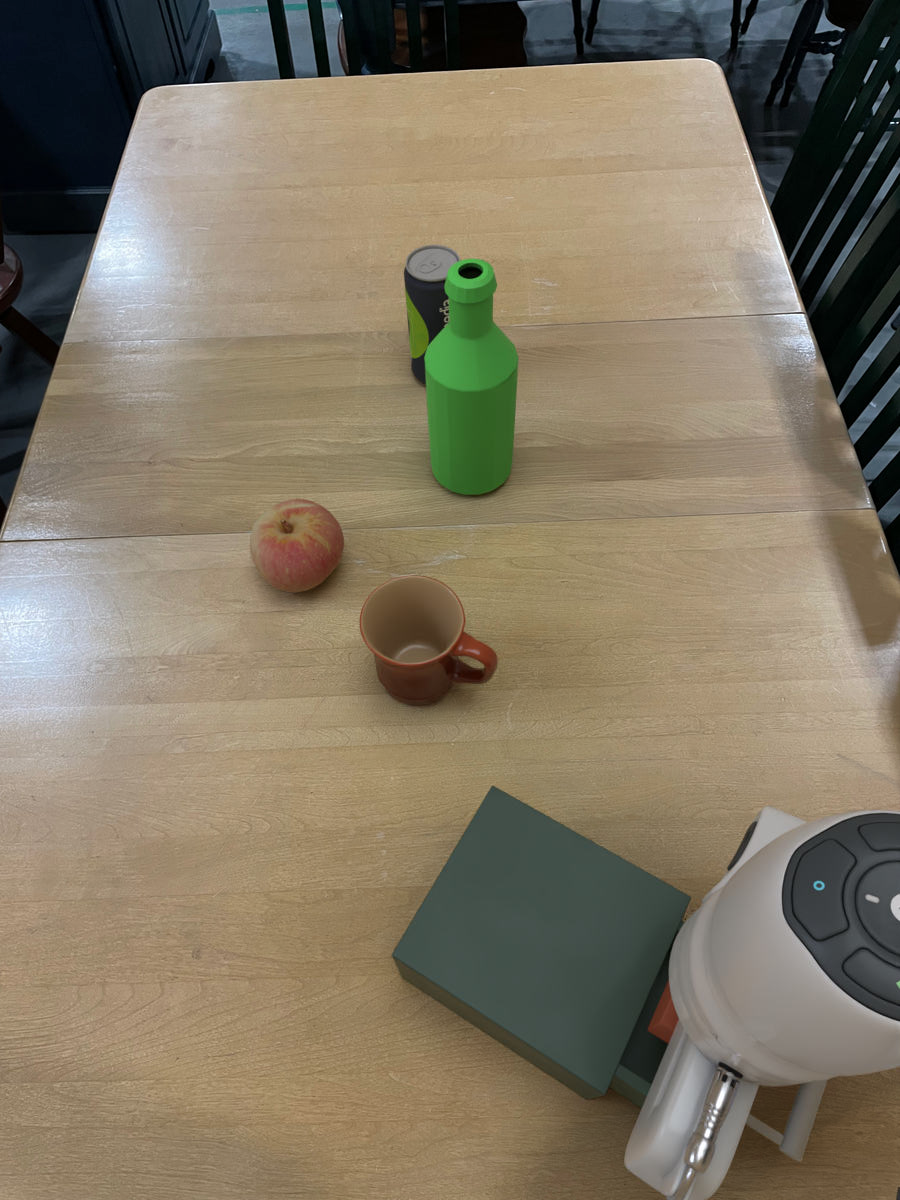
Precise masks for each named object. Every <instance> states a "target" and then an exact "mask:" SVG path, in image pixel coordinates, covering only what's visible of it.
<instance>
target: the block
mask: <svg viewBox="0 0 900 1200" xmlns="http://www.w3.org/2000/svg"><path fill="white" fill-rule="evenodd" d="M678 1020H679V1018H678V1015H677V1013H676V1010H675V1007H674V1004H673V1001H672V996H671V992H670V985H669V980H668V983H667V985H666V987H665V990H664V992H663V994H662V997H661V999H660V1001H659V1004H658V1006H657V1008H656V1011H655V1013H654V1015H653V1018H652V1020H651V1022H650V1025H649V1027H648V1031H649V1032H651V1033H652V1034H654V1035H655V1036H657V1037H659V1038H660V1039H662V1040H663V1041H665V1042H667V1043H668V1044H669V1042H670V1039H671V1037H672V1035H673V1032H674V1030H675V1027H676V1025H677V1022H678Z"/></svg>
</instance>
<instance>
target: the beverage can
mask: <svg viewBox="0 0 900 1200" xmlns="http://www.w3.org/2000/svg"><path fill="white" fill-rule="evenodd" d="M461 260H462V259H461V257H460V255H459V253H458V252H457V251H455V250H454V248H451V247H449V246H446V245H442V244H427V245H422V246H420V247H417V248H415V249H413V250H412V251H411V252H409V254H408V255H407V257H406V259H405V266H404V269H403V270H404V271H403V281H404V293H405V294H404V295H405V305H406V306H405V307H406V318H407V319H406V320H407V331H408V343H409V355H410V356H409V357H410V367H411V372H412V375H413V377H414V378H416V379H417V380H418V381H419V382H421V383H422V384H424V385H426V374H425V360H424V357H425V353H426V350H427V347H428V345H429V344H430V343H431V342H432V341H433V340H434V338H435V337H436V336H437V335H438V334H439V333H440V332H441V331H442V330H443V328H444V327H445V326H446V325H447V324H448V323H449V296H448V295H447V294H446V293H445V288H444V286H445V282H446V277H447V273H448V270H449V268H450V267H451V266H452V265H453V264H455V263H457V262H458V261H461Z"/></svg>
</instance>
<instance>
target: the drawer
mask: <svg viewBox="0 0 900 1200" xmlns="http://www.w3.org/2000/svg"><path fill="white" fill-rule="evenodd" d="M685 922H686V921H685V920H683V919H682V921H681V923H680V925H679V928H678V930H677V932H676V934H675V937H674V939H673V941H672V944H671V946H670V948H669V951H668V953H667V955H666V957H665V960H664V962H663V964H662V967H661V969H660V971H659V973H658V976H657V978H656V980H655V983H654V985H653V987H652V989H651V992H650V994H649V996H648V999H647V1001H646V1003H645V1005H644V1008H643V1010H642V1012H641V1015H640V1017H639V1019H638V1022H637V1024H636V1026H635V1028H634V1031H633V1033H632V1035H631V1038H630V1040H629V1042H628V1044H627V1047H626V1049H625V1051H624V1054H623V1056H622V1058H621V1060H620V1063H619V1065H618V1067H617V1070H616V1072H615V1074H614V1076H613V1079H612V1081H611V1083H610V1086H609V1088H608V1089H611V1090H612V1091H614V1092H615V1093H617V1094H619V1095H620V1096H621V1097H623V1098H624V1099H626V1100H628V1101H629V1102H630V1103H632V1104H633V1105H635V1106H636V1107H638V1108H639V1109H642V1107H643V1105H644V1102H645V1100H646V1097H647V1095H648V1092H649V1090H650V1088H651V1085H652V1083H653V1080H654V1078H655V1076H656V1073H657V1071H658V1068H659V1066H660V1063H661V1061H662V1059H663V1056H664V1054H665V1051H666V1049H667V1047H668V1043H667V1042H665V1041H663V1040H662V1039H660V1038H659V1037H657V1036H655V1035H654V1034H652V1033H651V1032H649V1031H648V1027H649V1025H650V1022H651V1020H652V1018H653V1015H654V1013H655V1011H656V1008H657V1006H658V1004H659V1001H660V999H661V997H662V994H663V992H664V990H665V987H666V985H667V983H668V980H669V961H670V956H671V951H672V947H673V944H674V942H675V939H676V937H677V935H678V933H679V931H680V929H681V927H682V926H683V925H684V923H685ZM828 1080H829V1079H827V1080H822V1081H815V1082H808V1083H801V1084H799V1086H798V1089H797V1092H796V1095H795V1098H794V1101H793V1104H792V1107H791V1110H790V1113H789V1116H788V1119H787V1122H786V1124H785V1128H784V1131H783V1134H782V1133H781V1132H779V1131H778V1130H776V1129H774V1128H773V1127H771V1126H770V1125H768V1124H767V1123H766V1122H763V1121H761V1119H758V1117H756V1116H754V1115H752V1114H751V1113H749V1115H748V1118H747V1121H746V1123H745V1126H748V1128H751V1129H752V1130H754V1131H756V1132H757V1133H759V1134H760V1135H762V1137H765V1138H766V1139H768V1140H770V1141H771V1142H773V1143H774V1144H776V1145H778V1150H779V1151H780V1152H781V1153H783V1155H786V1156H787V1157H788V1158H791V1159H792V1160H795V1161H797V1162H799V1163H800V1162H802V1161H803V1157H804V1154H805V1151H806V1147H807V1145H808V1141H809V1139H810V1136H811V1132H812V1129H813V1127H814V1122H815V1119H816V1116H817V1114H818V1111H819V1108H820V1104H821V1101H822V1098H823V1096H824V1092H825V1088H826V1086H827V1082H828Z"/></svg>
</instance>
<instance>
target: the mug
mask: <svg viewBox="0 0 900 1200" xmlns="http://www.w3.org/2000/svg"><path fill="white" fill-rule="evenodd" d="M360 610H361V611H360V615H359V631H360V634H361V637H362V640H363V642H364V643H365V645H366V647H367V648H368V649H369V650H370V651H371V653H373V655H374V656H373V657H374V663H375V670H376V675H377V678H378V681H379V682H380V684H381V685H382V687H383V688H384V689H385V691H386V693H387V694H388V695H389V696H390V697H391V698H392V699H394V700H395V701H397V702H398V703H401V704H404V705H407V706H413V707H423V706H428V705H432V704H434V703H436V702H438V701H440V700H442V699H443V698H444V697H445V696H447V694H448V693H449V692H450V690H452V687H453V686H454V684H455V683H456V684H460V685H462V684H463V685H465V684H467V685H483V684H486V683H489V682H490V681H491V679H492V678H493V677H494V675H495V673H496V671H497V668H498V664H499V659H498V654H497V652H496V651H495V649H493V648H492V647H491V646H490V645H488V644H486V643H485V642H482V641H481V640H479V639H477V638H475V637H473V636H472V635H471V634H469V633H467V632H465V627H466V614H465V610H464V606H463V604H462V602H461V599H460V598H459V596H458V595H457V594H456V592H455V591H454V590H453V589H452V588H451V587H450V586H448V585H447V584H446V583H444V582H442V581H440V580H438V579H436V578H433V577H429V576H427V575H418V574H417V575H416V574H412V575H411V574H410V575H402V576H398V577H394V578H392V579H390V580H387V581H385V582H384V583H382V584H381V585H379V586H378V587H376V588H375V589H374V590H373V591H372V592H371V593H370V594H369V595H368V597H367V598H366V599H365V601H364V603H363V605H362V608H361V609H360ZM459 657H468V658H470V659H471V658H472V659H474V660H476V661H478V662H479V663H481V664H482V665H483V667H481V668H479V667H473V666H471V665H469V664H467V663H466V662H464V661H463V660H462V659H460V658H459Z"/></svg>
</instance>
